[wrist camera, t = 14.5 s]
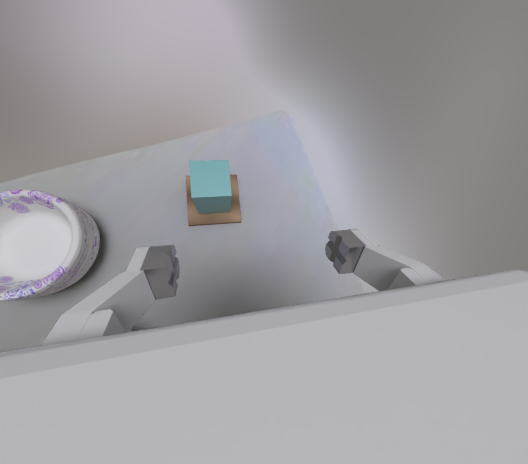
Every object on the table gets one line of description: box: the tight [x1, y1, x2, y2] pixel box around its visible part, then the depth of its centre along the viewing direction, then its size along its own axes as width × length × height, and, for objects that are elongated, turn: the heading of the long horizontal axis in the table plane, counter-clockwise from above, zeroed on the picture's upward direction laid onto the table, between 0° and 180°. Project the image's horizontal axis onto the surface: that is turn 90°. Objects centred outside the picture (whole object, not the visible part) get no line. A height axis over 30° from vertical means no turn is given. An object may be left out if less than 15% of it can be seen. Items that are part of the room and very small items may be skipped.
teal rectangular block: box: [189, 160, 232, 214], centre depth 35 cm, size 6×6×9 cm
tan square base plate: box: [186, 175, 241, 226], centre depth 37 cm, size 10×10×8 cm
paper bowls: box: [0, 190, 100, 301], centre depth 30 cm, size 15×15×8 cm
